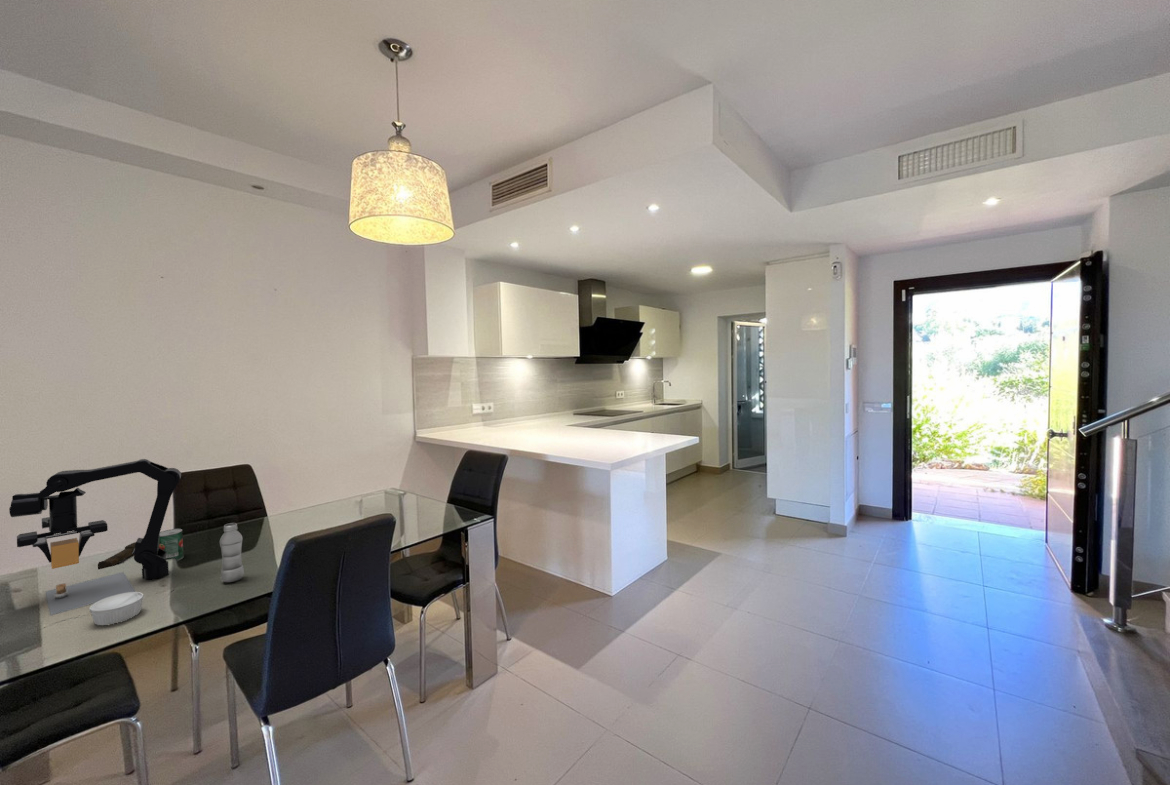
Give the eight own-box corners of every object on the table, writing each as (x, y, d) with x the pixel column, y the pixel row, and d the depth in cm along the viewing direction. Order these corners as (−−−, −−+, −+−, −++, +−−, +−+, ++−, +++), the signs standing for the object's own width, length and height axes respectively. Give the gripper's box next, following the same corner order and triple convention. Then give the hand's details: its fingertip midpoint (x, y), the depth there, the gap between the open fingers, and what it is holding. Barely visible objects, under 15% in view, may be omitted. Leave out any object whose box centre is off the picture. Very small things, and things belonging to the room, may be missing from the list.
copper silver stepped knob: (71, 594, 144) (70, 582, 144) (60, 599, 142) (59, 587, 141) (62, 594, 145) (62, 582, 144) (52, 599, 142) (51, 586, 142)
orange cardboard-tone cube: (78, 563, 144) (78, 541, 144) (52, 569, 140) (51, 546, 139) (77, 558, 148) (76, 537, 147) (50, 564, 143) (50, 542, 143)
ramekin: (146, 616, 134) (145, 599, 134) (90, 633, 126) (89, 615, 126) (142, 604, 142) (141, 587, 142) (90, 618, 133) (89, 601, 133)
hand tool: (110, 571, 166) (109, 558, 166) (97, 572, 165) (96, 559, 165) (147, 551, 184) (146, 540, 184) (135, 552, 183) (134, 540, 183)
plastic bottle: (239, 574, 162) (236, 520, 161) (248, 579, 158) (245, 523, 157) (217, 581, 156) (214, 525, 155) (226, 586, 153) (223, 529, 152)
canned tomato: (150, 563, 172) (149, 535, 171) (172, 555, 179) (171, 528, 179) (167, 564, 170) (165, 536, 170) (189, 556, 178) (187, 529, 177)
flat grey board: (136, 595, 147) (135, 591, 147) (50, 620, 132) (50, 615, 132) (123, 575, 161) (123, 571, 161) (45, 595, 147) (45, 591, 147)
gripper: (102, 500, 155) (103, 544, 156) (15, 513, 141) (17, 561, 141) (107, 506, 148) (108, 552, 149) (16, 520, 134) (18, 571, 134)
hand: (64, 559), depth 144 cm, fingers closed on orange cardboard-tone cube, 6 cm apart
